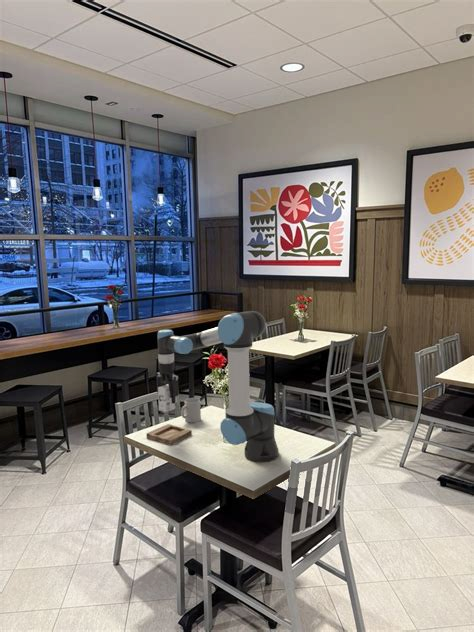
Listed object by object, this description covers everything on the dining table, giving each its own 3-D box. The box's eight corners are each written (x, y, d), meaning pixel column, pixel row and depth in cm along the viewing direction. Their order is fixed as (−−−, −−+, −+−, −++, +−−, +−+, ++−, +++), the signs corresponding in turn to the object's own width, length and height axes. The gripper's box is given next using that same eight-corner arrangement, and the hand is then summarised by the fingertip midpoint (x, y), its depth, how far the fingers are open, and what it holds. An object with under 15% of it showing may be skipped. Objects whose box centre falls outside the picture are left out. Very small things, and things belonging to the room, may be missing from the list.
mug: (193, 416, 252) (192, 396, 250) (204, 419, 246) (203, 399, 245) (176, 422, 243) (176, 402, 241) (187, 425, 237) (187, 405, 236)
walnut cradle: (191, 434, 226) (191, 430, 225) (170, 445, 214) (170, 440, 213) (168, 427, 235) (168, 423, 235) (146, 437, 223) (146, 433, 223)
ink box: (170, 405, 227) (169, 382, 226) (177, 407, 224) (177, 384, 223) (158, 410, 220) (157, 386, 219) (165, 412, 217) (164, 388, 216)
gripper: (185, 362, 217) (187, 409, 220) (158, 358, 227) (160, 403, 231) (174, 366, 211) (176, 414, 214) (147, 361, 221) (149, 407, 225)
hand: (168, 408), depth 222 cm, fingers closed on ink box, 5 cm apart
